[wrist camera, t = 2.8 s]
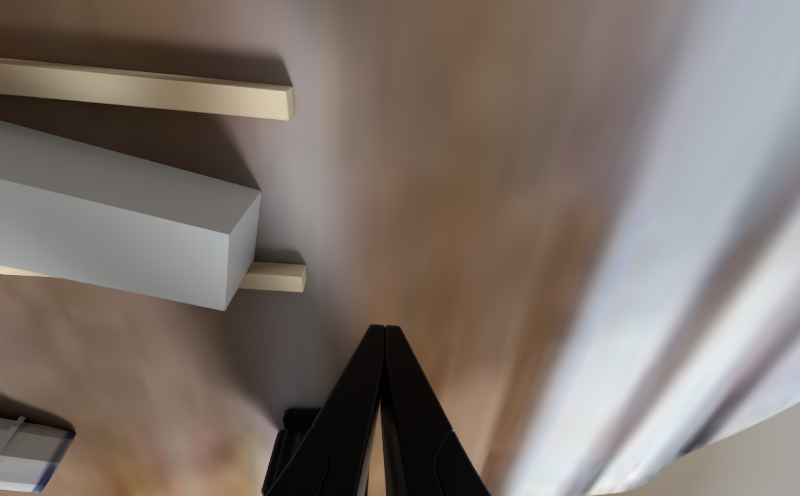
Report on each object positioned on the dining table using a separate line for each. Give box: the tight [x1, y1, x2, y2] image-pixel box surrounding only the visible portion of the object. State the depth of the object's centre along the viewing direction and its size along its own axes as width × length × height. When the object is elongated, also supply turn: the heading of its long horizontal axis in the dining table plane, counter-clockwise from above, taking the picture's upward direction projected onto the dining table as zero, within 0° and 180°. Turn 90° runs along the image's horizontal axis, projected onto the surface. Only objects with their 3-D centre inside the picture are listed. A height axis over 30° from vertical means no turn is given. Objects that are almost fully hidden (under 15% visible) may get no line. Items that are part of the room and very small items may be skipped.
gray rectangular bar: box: [0, 121, 261, 311], centre depth 14 cm, size 16×4×4 cm, turn 72°
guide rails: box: [0, 58, 307, 292], centre depth 15 cm, size 19×10×1 cm, turn 85°
